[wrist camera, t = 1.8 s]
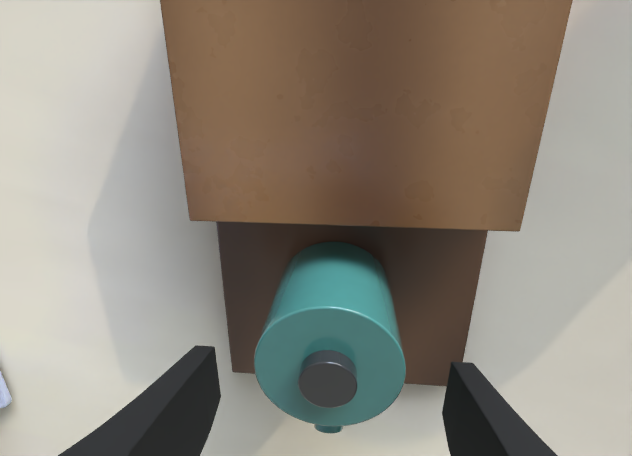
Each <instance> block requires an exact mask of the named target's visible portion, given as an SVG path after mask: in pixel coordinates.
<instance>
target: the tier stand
mask: <svg viewBox="0 0 632 456" xmlns="http://www.w3.org/2000/svg"><path fill="white" fill-rule="evenodd" d="M160 3H161V10H162V18H163V25H164V32H165V40H166V47H167V55H168V62H169V69H170V77H171V84H172V92H173V99H174V106H175V114H176V121H177V128H178V136H179V143H180V151H181V158H182V165H183V173H184V180H185V188H186V195H187V202H188V210H189V217H190V220H191V221H216V222H217V231H218V240H219V250H220V259H221V269H222V278H223V287H224V297H225V306H226V316H227V325H228V334H229V344H230V353H231V363H232V371H233V372H239V373H254V374H255V368H254V355H255V350H256V347H257V344H258V341H259V338H260V336H261V333H262V330H263V327H264V324H265V321H266V318H267V316H268V313H269V310H270V307H271V304H272V301H273V299H274V296H275V293H276V290H277V287H278V284H279V281H280V279H281V276H282V273H283V270H284V268H285V267H286V265H287V264H288V262H289V261H290V260H291V259H292V258H293V257H294V256H295V255H296V254H297V253H298V252H300V251H301V250H303V249H305V248H306V247H309V246H311V245H314V244H318V243H322V242H334V241H336V242H344V243H349V244H352V245H355V246H358V247H360V248H362V249H364V250H366V251H367V252H369V253H370V254H371V255H373V256H374V257H375V258H376V259H377V260H378V261H379V262H380V264H381V265H382V267H383V268H384V270H385V272H386V274H387V276H388V279H389V283H390V288H391V293H392V298H393V303H394V308H395V313H396V318H397V323H398V328H399V333H400V338H401V343H402V348H403V353H404V358H405V365H406V374H405V380H404V383H406V384H421V385H436V386H447V383H448V377H449V372H450V366H451V362H463V357H464V351H465V346H466V341H467V336H468V331H469V325H470V320H471V315H472V310H473V305H474V300H475V294H476V289H477V284H478V279H479V274H480V268H481V263H482V258H483V253H484V248H485V242H486V237H487V232H488V230H491V231H520V228H521V224H522V219H523V215H524V210H525V206H526V202H527V197H528V193H529V188H530V184H531V180H532V175H533V171H534V166H535V162H536V158H537V153H538V149H539V145H540V140H541V136H542V131H543V127H544V123H545V118H546V114H547V109H548V105H549V101H550V96H551V92H552V88H553V83H554V79H555V74H556V70H557V66H558V61H559V57H560V52H561V48H562V44H563V39H564V35H565V30H566V26H567V22H568V17H569V13H570V9H571V4H572V0H160Z"/></svg>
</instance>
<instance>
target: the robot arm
mask: <svg viewBox="0 0 632 456" xmlns="http://www.w3.org/2000/svg"><path fill="white" fill-rule="evenodd" d="M220 398H221V394H220V386H219V378H218V371H217V363H216V355H215V347H211V346H195V347H193V348H192V349H191V350H190V351H189V352H188V353H187V354H185V355H184V356H183V357H182V358H181V359H180V360H179V361H178V362H176V363H175V364H174V365H173V366H172V367H171V368H170V369H169V370H168V371H166V372H165V373H164V374H163V375H162V376H161V377H160V378H159V379H157V380H156V381H155V382H154V383H153V384H152V385H151V386H149V387H148V388H147V389H146V390H145V391H144V392H142V393H141V394H140V395H139V396H138V397H137V398H135V399H134V400H133V401H132V402H130V403H129V404H128V405H127V406H125V407H124V408H123V409H122V410H120V411H119V412H118V413H117V414H115V415H114V416H113V417H112V418H110V419H109V420H108V421H107V422H105V423H104V424H103V425H101V426H100V427H98V428H97V429H96V430H94V431H93V432H92V433H90V434H89V435H87V436H86V437H85V438H83V439H82V440H80V441H79V442H77V443H76V444H74V445H73V446H72V447H70V448H69V449H67V450H66V451H64V452H63V453H61V454H60V455H58V456H200V454H201V452H202V449H203V447H204V445H205V442H206V440H207V438H208V435H209V433H210V430H211V427H212V424H213V421H214V418H215V415H216V411H217V408H218V404H219V401H220ZM11 401H12V399H11V395H10V393H9V391H8V388H7V386H6V383H5V381H4V378H3V376H2V373H1V371H0V408H5V407H6V406H7V405H9V404H10V403H11ZM442 415H443V420H444V426H445V431H446V437H447V442H448V447H449V451H450V454H451V456H557V455H556V454H555V453H554V452H553V451H552V450H551V449H550V448H549V447H548V446H547V445H546V444H545V443H544V442H543V441H542V440H541V439H540V438H539V437H538V435H537V434H536V433H535V432H534V431H533V430H532V429H531V428H530V427H529V426H528V425H527V424H526V423H525V422H524V421H523V419H522V418H521V417H520V416H519V415H518V414H517V413H516V412H515V411H514V410H513V409H512V407H511V406H510V405H509V404H508V403H507V402H506V401H505V400H504V398H503V397H502V396H501V395H500V394H499V393H498V392H497V390H496V389H495V388H494V387H493V386H492V385H491V383H490V382H489V381H488V380H487V379H486V378H485V377H484V375H483V374H482V373H481V372H480V371H479V370H478V368H477V367H476V366H475V365H474V364H473V363H466V362H451V366H450V372H449V377H448V383H447V389H446V394H445V400H444V405H443V411H442Z"/></svg>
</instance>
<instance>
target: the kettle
mask: <svg viewBox="0 0 632 456" xmlns="http://www.w3.org/2000/svg"><path fill="white" fill-rule="evenodd" d="M254 368H255V374H256V377H257V380H258V383H259V385H260V387H261V389H262V390H263V392H264V393H265V395H266V396H267V397H268V398H269V399H270V400H271V402H273V403H274V404H275V405H276V406H277V407H278V408H280V409H281V410H282V411H284V412H285V413H287V414H289V415H291V416H293V417H295V418H297V419H299V420H302V421H305V422H308V423H312V424H315V429H317V430H318V431H320V432H324V433H337V432H340V431H341V430H342V429H343V426H346V425H352V424H357V423H360V422H364V421H366V420H369V419H371V418H373V417H375V416H377V415H379V414H380V413H382V412H383V411H384V410H386V409H387V408H388V407H389V406H390V405H391V404H392V403H393V402H394V401H395V399H396V398H397V396H398V395H399V393H400V391H401V389H402V386H403V384H404V380H405V374H406V365H405V358H404V353H403V348H402V343H401V338H400V333H399V328H398V323H397V318H396V313H395V308H394V303H393V298H392V293H391V288H390V283H389V279H388V276H387V274H386V272H385V270H384V268H383V267H382V265H381V264H380V262H379V261H378V260H377V259H376V258H375V257H374V256H373V255H371V254H370V253H369V252H367V251H366V250H364V249H362V248H360V247H358V246H355V245H352V244H349V243H344V242H336V241H334V242H322V243H318V244H314V245H311V246H309V247H306V248H305V249H303V250H301V251H300V252H298V253H297V254H296V255H295V256H294V257H293V258H292V259H291V260H290V261H289V262H288V264H287V265H286V267H285V268H284V270H283V273H282V276H281V279H280V281H279V284H278V287H277V290H276V293H275V296H274V299H273V301H272V304H271V307H270V310H269V313H268V316H267V318H266V321H265V324H264V327H263V330H262V333H261V336H260V338H259V341H258V344H257V347H256V350H255V355H254Z"/></svg>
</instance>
